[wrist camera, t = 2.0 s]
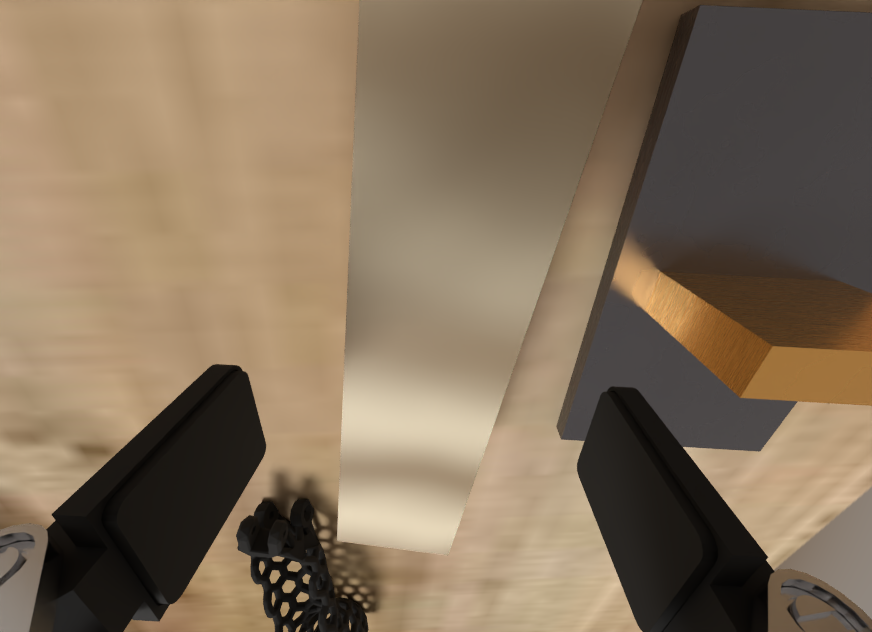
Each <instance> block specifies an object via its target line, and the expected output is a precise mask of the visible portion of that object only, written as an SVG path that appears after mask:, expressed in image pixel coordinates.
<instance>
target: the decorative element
mask: <svg viewBox="0 0 872 632" xmlns="http://www.w3.org/2000/svg"><path fill="white" fill-rule="evenodd" d="M313 514H314V508H313V507H312V505H311V503H310V501H309V500H308V499H300V500H297V501H296V502H295V503H294V504H293V507H292V509H291V514H290V522H291V524H290V523H289V522H288V521H287V520H286V519H285V518H284V517H282V516H281V515H280V514H279V511H278V509H277V508H276V506H275V505H274V503H273V502H262V503H261V504H259V505H258V507H257V508H256V510H255V512H254V516H250V515H249V516H248V517H246V518H245V519H244V520H243V521H242V522H241V524H240V526H239V529H238V532H237V534H236V537H237V541H238V547H237V548H238V550H239V551H241V552H243V553H245V554H247V555H250V556H251V577H252V579H253V581H254V582H255V583H256V584H262V587H263V589H264V596H263V605H264V610H265V613H266V615H267V617H268V618H273V621H274V624H275V632H283V626H285V625H286V627H287V628H288V632H295V631H296V628H297V627H298V626H299V625H301V624H302V625H301V628H300V630H299V632H306V631H307V632H368V623H367V616H366V615H365V613H364V611H363V610H362V608H361V607H360V606H359V605H358V604H357V603H355V602H354V601H352V600H350V599H347V598H335V593H334V587H333V583H332V579H331V576H330V574H329V571H328V568H327V563H326V557H325V553H324V550H323V548H322V546H321V544H320V542H319V540H318V538H317V536H316V533H315V530H314V527H313V524H312V518H313ZM306 550H307V552H306ZM275 556H280V557H285V558H284V559H283V560H282V562H274V561H273V560H272V557H275ZM260 561H263V562H264V564H265V569H264V572H263V574H262V575H261V573H260V571H259V563H260ZM291 561H296V562H299V563H300V564H301V566H302V568H301V569H300V570H299V571H298V572H293V571H288V569H287V565H288V564H289V563H290V562H291ZM310 565H311V566H310ZM272 570H279V572H280V575H281V576H280V577H279V579H278V580H277V582H276V583H273V584H271V581H270V579H269V577H270V574H271V572H272ZM305 574H308V575H310V576H311V577H310V580H309V585H308V584H305V583H303V579H302V577H303V576H304V575H305ZM286 580H292V581H295V585H296V587H295V588H294V589H293V591H292V592H291V593H284V592H283V589H282V586H283V584H284V583H285V581H286ZM318 589H319V590H318ZM272 592H274V594H275V597H276V600H275V603H274V606H272V602H271V600H272ZM300 592H304V593H306V594H308V595H309V599H308V600H307V601H305V602H297V600H296V597H297V596H298V594H299V593H300ZM282 602H288V603H289V607H290V609H289V611H288V613H287V615H286V616H284V617H282V615H281V612H280V608H281V605H282ZM297 611H303V612H302V613H301V615H300V616H299V617H298V618H296V619H295V620H294V621H293V619H292V618H293V616H294V614H295V612H297ZM329 613H330V614H331V615H330V617H329V618H327V615H328V614H329ZM326 618H327V619H326ZM317 620H318V625H317V627H316V629H315V630H314V625H315V623H316V622H317ZM349 620H350V623H351V631H350V629H349Z"/></svg>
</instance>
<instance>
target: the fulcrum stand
mask: <svg viewBox="0 0 872 632" xmlns="http://www.w3.org/2000/svg"><path fill="white" fill-rule="evenodd" d="M612 386H615V387H633V388H636V389H637V390H638V391H639V392H640V393H641V394H642V396H643V397H644V398H645V399H646V401H647V402H648V403H649V405H650V406H651V407H652V408H653V410H654V411H655V412H656V414H657V415H658V416H659V417H660V419H661V420H662V421H663V423H664V424H665V425H666V426H667V428H668V429H669V430H670V432H671V433H672V434H673V436H674V437H675V438H676V439H677V441H678V442H679V443H680V445H681V446H682V447H696V448H713V449H729V450H746V451H761V449H762V448H763V447H764V445H765V444H766V443H767V441H768V440H769V439H770V437H771V436H772V435H773V433H774V432H775V431H776V429H777V428H778V427H779V425H780V424H781V423H782V421H783V420H784V419H785V417H786V416H787V415H788V413H789V412H790V411H791V409H792V408H793V407H794V405H795V404H796V403H797V401H802V402H819V403H836V404H853V405H870V406H872V13H865V12H842V11H820V10H797V9H775V8H752V7H730V6H707V5H700V6H698V7H696V8H694V9H692V10H690V11H688V12H686V13H684V14H682V15H681V18H680V21H679V25H678V28H677V31H676V35H675V38H674V41H673V44H672V48H671V51H670V54H669V58H668V61H667V64H666V68H665V71H664V74H663V77H662V81H661V84H660V87H659V91H658V94H657V97H656V101H655V104H654V107H653V110H652V114H651V117H650V120H649V124H648V127H647V130H646V134H645V137H644V140H643V143H642V147H641V150H640V153H639V157H638V160H637V163H636V166H635V170H634V173H633V176H632V180H631V183H630V186H629V190H628V193H627V196H626V199H625V203H624V206H623V209H622V213H621V216H620V219H619V223H618V226H617V229H616V232H615V236H614V239H613V242H612V246H611V249H610V252H609V256H608V259H607V262H606V265H605V269H604V272H603V275H602V279H601V282H600V285H599V288H598V292H597V295H596V298H595V302H594V305H593V308H592V312H591V315H590V318H589V321H588V325H587V328H586V331H585V335H584V338H583V341H582V345H581V348H580V351H579V354H578V358H577V361H576V364H575V368H574V371H573V374H572V377H571V381H570V384H569V387H568V391H567V394H566V397H565V401H564V404H563V407H562V410H561V414H560V417H559V420H558V424H557V429H558V432H559V435H560V438H561V439H564V440H581V441H585V439H586V436H587V433H588V430H589V427H590V424H591V421H592V418H593V415H594V413H595V410H596V407H597V404H598V401H599V398H600V395H601V393H602V392H607V390H608V389H609V388H610V387H612Z"/></svg>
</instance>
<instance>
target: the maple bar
mask: <svg viewBox="0 0 872 632" xmlns="http://www.w3.org/2000/svg"><path fill="white" fill-rule="evenodd" d="M642 1H643V0H360V1H359V25H358V49H357V73H356V97H355V121H354V145H353V169H352V193H351V216H350V240H349V264H348V288H347V312H346V336H345V360H344V384H343V408H342V432H341V455H340V479H339V503H338V527H337V541H341V542H349V543H356V544H364V545H372V546H379V547H387V548H395V549H402V550H410V551H417V552H425V553H433V554H440V555H448V554H449V551H450V549H451V546H452V543H453V540H454V537H455V534H456V531H457V529H458V526H459V523H460V520H461V517H462V514H463V511H464V509H465V506H466V503H467V500H468V497H469V494H470V492H471V489H472V486H473V483H474V480H475V477H476V474H477V472H478V469H479V466H480V463H481V460H482V457H483V454H484V452H485V449H486V446H487V443H488V440H489V437H490V434H491V432H492V429H493V426H494V423H495V420H496V417H497V415H498V412H499V409H500V406H501V403H502V400H503V397H504V395H505V392H506V389H507V386H508V383H509V380H510V377H511V375H512V372H513V369H514V366H515V363H516V360H517V358H518V355H519V352H520V349H521V346H522V343H523V340H524V338H525V335H526V332H527V329H528V326H529V323H530V320H531V318H532V315H533V312H534V309H535V306H536V303H537V300H538V298H539V295H540V292H541V289H542V286H543V283H544V281H545V278H546V275H547V272H548V269H549V266H550V263H551V261H552V258H553V255H554V252H555V249H556V246H557V243H558V241H559V238H560V235H561V232H562V229H563V226H564V223H565V221H566V218H567V215H568V212H569V209H570V206H571V204H572V201H573V198H574V195H575V192H576V189H577V186H578V184H579V181H580V178H581V175H582V172H583V169H584V166H585V164H586V161H587V158H588V155H589V152H590V149H591V146H592V144H593V141H594V138H595V135H596V132H597V129H598V127H599V124H600V121H601V118H602V115H603V112H604V109H605V107H606V104H607V101H608V98H609V95H610V92H611V89H612V87H613V84H614V81H615V78H616V75H617V72H618V69H619V67H620V64H621V61H622V58H623V55H624V52H625V50H626V47H627V44H628V41H629V38H630V35H631V32H632V30H633V27H634V24H635V21H636V18H637V15H638V12H639V10H640V7H641V4H642Z"/></svg>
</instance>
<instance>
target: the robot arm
mask: <svg viewBox="0 0 872 632" xmlns="http://www.w3.org/2000/svg"><path fill="white" fill-rule="evenodd" d="M265 450H266V442H265V438H264V435H263V431H262V427H261V423H260V419H259V415H258V412H257V408H256V404H255V400H254V396H253V392H252V389H251V385H250V381H249V377H248V374H247V373H246V372H244V371H242V369H241V368H240V367H239V366H237V365H220V364H215V365H212V366H211V367H209V368H208V369H207V370H206V371H205V372H204V373H203V374H202V375H201V376H200V377H199V378H198V379H196V380H195V381H194V382H193V383H192V384H191V385H190V386H189V387H188V388H187V389H186V390H185V391H184V392H183V393H181V394H180V395H179V396H178V397H177V398H176V399H175V400H174V401H173V402H172V403H171V404H170V405H169V406H167V407H166V408H165V409H164V410H163V411H162V412H161V413H160V414H159V415H158V416H157V417H156V418H155V419H153V420H152V421H151V422H150V423H149V424H148V425H147V426H146V427H145V428H144V429H143V430H142V431H141V432H140V433H138V434H137V435H136V436H135V437H134V438H133V439H132V440H131V441H130V442H129V443H128V444H127V445H126V446H124V447H123V448H122V449H121V450H120V451H119V452H118V453H117V454H116V455H115V456H114V457H113V458H112V459H111V460H109V461H108V462H107V463H106V464H105V465H104V466H103V467H102V468H101V469H100V470H99V471H98V472H97V473H95V474H94V475H93V476H92V477H91V478H90V479H89V480H88V481H87V482H86V483H85V484H84V485H83V486H81V487H80V488H79V489H78V490H77V491H76V492H75V493H74V494H73V495H72V496H71V497H70V498H69V499H68V500H66V501H65V502H64V503H63V504H62V505H61V506H60V507H59V508H58V509H57V510H56V511H55V512H54V513H52V514H51V515H52V516H53V517H54V519H55V520H56V521H55V522H54V523H53V524H52V525H51V526H50V527H48V528H47V529H45V528H44V527H42V526H41V525H37V524H31V523H29V524H21V525H14V526H11V527H8V528H5V529H2V530H0V632H123V631H124V630H125V628H126V627H127V625H128V624H129V622H130V621H131V619H133V620H143V621H160V619H161V618H162V616H163V614H164V613H165V611H166V610H167V608H168V606H169V605H170V604H173V603H175V602H176V601H177V600H178V599H179V598H180V597H181V595H182V594H183V592H184V591H185V589H186V587H187V585H188V584H189V582H190V580H191V579H192V577H193V575H194V574H195V572H196V570H197V569H198V567H199V565H200V563H201V562H202V560H203V558H204V557H205V555H206V553H207V552H208V550H209V548H210V547H211V545H212V543H213V542H214V540H215V538H216V536H217V535H218V533H219V531H220V530H221V528H222V526H223V525H224V523H225V521H226V520H227V518H228V516H229V514H230V513H231V511H232V509H233V508H234V506H235V504H236V503H237V501H238V499H239V498H240V496H241V494H242V493H243V491H244V489H245V487H246V486H247V484H248V482H249V481H250V479H251V477H252V476H253V474H254V472H255V471H256V469H257V467H258V466H259V464H260V462H261V460H262V459H263V457H264V454H265ZM577 471H578V475H579V478H580V481H581V483H582V486H583V488H584V491H585V493H586V496H587V498H588V501H589V503H590V506H591V508H592V511H593V514H594V516H595V519H596V521H597V524H598V526H599V529H600V531H601V534H602V536H603V539H604V541H605V544H606V546H607V549H608V552H609V554H610V557H611V559H612V562H613V564H614V567H615V569H616V572H617V574H618V577H619V579H620V582H621V584H622V587H623V589H624V592H625V595H626V597H627V600H628V602H629V605H630V607H631V610H632V612H633V615H634V617H635V620H636V622H637V624H638V626H639V628H640V629H641V630H642V631H643V632H872V619H871V618H870V617H869V616H868V615H867V614H866V613H865V612H864V611H863V610H862V609H861V608H860V607H858V606H857V605H856V604H855V603H853V602H852V601H851V600H850V599H848V598H847V597H846V596H845V595H844V594H842V593H841V592H839V591H838V590H836V589H835V588H833V587H832V586H830V585H828V584H827V583H825V582H824V581H822V580H820V579H817V578H815V577H813V576H811V575H809V574H807V573H804V572H800V571H796V570H792V569H778V570H777V571H774V570H773V569H772V568H771V566H770V565H769V564H768V562H767V561H766V559H767V558H768V556H767V555H766V554H765V553H764V551H763V550H762V549H761V547H760V546H759V545H758V544H757V542H756V541H755V540H754V538H753V537H752V536H751V535H750V533H749V532H748V531H747V529H746V528H745V527H744V526H743V524H742V523H741V522H740V520H739V519H738V518H737V517H736V515H735V514H734V513H733V511H732V510H731V509H730V508H729V506H728V505H727V504H726V502H725V501H724V500H723V499H722V497H721V496H720V495H719V493H718V492H717V491H716V490H715V488H714V487H713V486H712V484H711V483H710V482H709V481H708V479H707V478H706V477H705V475H704V474H703V473H702V472H701V470H700V469H699V468H698V466H697V465H696V464H695V463H694V461H693V460H692V459H691V457H690V456H689V455H688V454H687V452H686V451H685V450H684V448H683V447H682V446H681V445H680V443H679V442H678V441H677V439H676V438H675V437H674V436H673V434H672V433H671V432H670V430H669V429H668V428H667V426H666V425H665V424H664V423H663V421H662V420H661V419H660V417H659V416H658V415H657V414H656V412H655V411H654V410H653V408H652V407H651V406H650V405H649V403H648V402H647V401H646V399H645V398H644V397H643V396H642V394H641V393H640V392H639V391H638V390H637V389H636V388H633V387H615V386H612V387H610V388H609V389H608V390H607V392H602V393H601V395H600V398H599V401H598V404H597V407H596V410H595V413H594V415H593V418H592V421H591V424H590V427H589V430H588V433H587V436H586V439H585V442H584V445H583V447H582V450H581V453H580V456H579V459H578V463H577Z"/></svg>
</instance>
